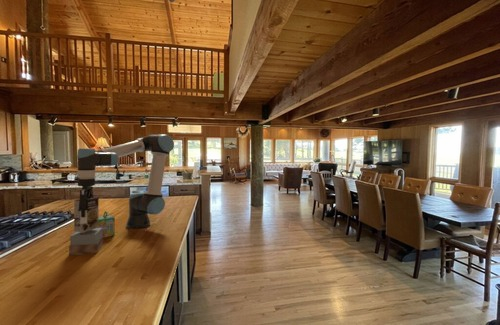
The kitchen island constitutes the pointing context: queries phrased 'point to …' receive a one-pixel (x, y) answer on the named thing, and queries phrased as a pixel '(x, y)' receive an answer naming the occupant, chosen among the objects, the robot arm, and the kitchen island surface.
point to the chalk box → (107, 225)
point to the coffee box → (91, 216)
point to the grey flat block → (86, 237)
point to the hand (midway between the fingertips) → (86, 220)
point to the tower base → (85, 248)
